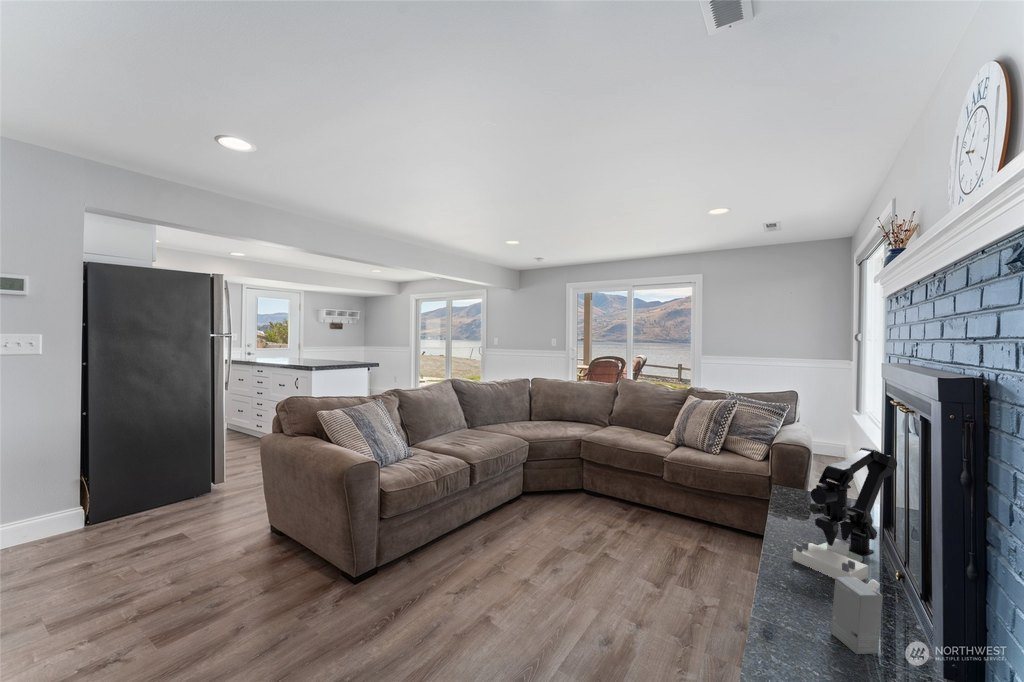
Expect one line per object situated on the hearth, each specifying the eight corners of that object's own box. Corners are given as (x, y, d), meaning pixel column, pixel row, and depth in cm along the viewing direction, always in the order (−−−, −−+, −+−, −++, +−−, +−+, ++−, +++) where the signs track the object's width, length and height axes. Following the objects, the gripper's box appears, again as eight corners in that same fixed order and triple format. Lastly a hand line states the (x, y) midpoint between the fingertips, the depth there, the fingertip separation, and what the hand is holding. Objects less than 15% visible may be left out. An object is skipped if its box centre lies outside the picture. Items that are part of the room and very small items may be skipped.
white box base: (810, 553, 162) (810, 536, 161) (867, 577, 145) (868, 559, 145) (793, 560, 157) (793, 543, 157) (850, 585, 141) (850, 566, 140)
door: (820, 545, 169) (820, 529, 169) (869, 564, 154) (869, 547, 154) (807, 550, 165) (807, 534, 165) (856, 570, 151) (856, 553, 150)
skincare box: (830, 633, 118) (830, 575, 118) (854, 632, 119) (854, 574, 118) (857, 656, 110) (857, 594, 109) (883, 654, 110) (883, 592, 110)
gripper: (827, 489, 171) (827, 528, 171) (799, 497, 162) (799, 539, 163) (860, 499, 161) (860, 540, 161) (832, 508, 152) (832, 552, 153)
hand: (837, 542), depth 160 cm, fingers open, 9 cm apart
